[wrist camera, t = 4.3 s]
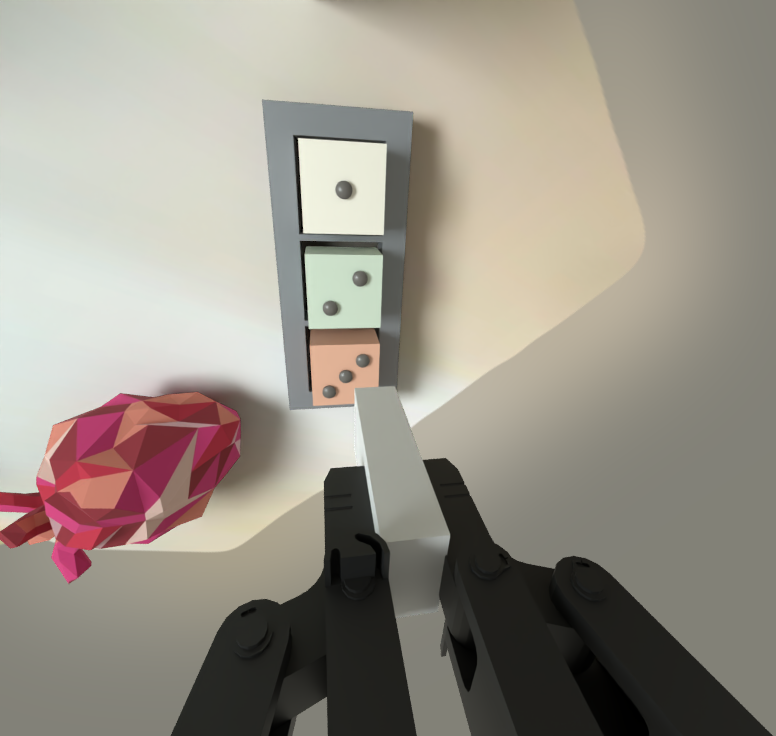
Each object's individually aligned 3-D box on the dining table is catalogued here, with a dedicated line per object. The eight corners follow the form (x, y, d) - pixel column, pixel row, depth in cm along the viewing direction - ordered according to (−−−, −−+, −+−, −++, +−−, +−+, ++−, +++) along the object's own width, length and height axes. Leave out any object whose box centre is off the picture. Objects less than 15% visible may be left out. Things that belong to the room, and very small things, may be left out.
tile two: (309, 313, 34) (308, 330, 30) (306, 246, 32) (304, 254, 28) (374, 313, 35) (380, 328, 31) (376, 247, 33) (383, 256, 29)
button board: (291, 394, 40) (289, 409, 38) (267, 106, 29) (261, 99, 26) (390, 390, 42) (395, 404, 40) (404, 117, 31) (413, 111, 28)
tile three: (313, 384, 37) (313, 407, 34) (310, 329, 35) (309, 347, 31) (372, 382, 38) (378, 404, 35) (373, 327, 36) (380, 345, 32)
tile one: (305, 227, 31) (303, 233, 27) (300, 143, 28) (297, 137, 24) (376, 229, 32) (384, 235, 28) (378, 148, 29) (387, 143, 25)
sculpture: (188, 332, 35) (-72, 449, 28) (239, 430, 29) (-74, 607, 22) (237, 405, 46) (60, 501, 40) (282, 487, 40) (82, 616, 34)
